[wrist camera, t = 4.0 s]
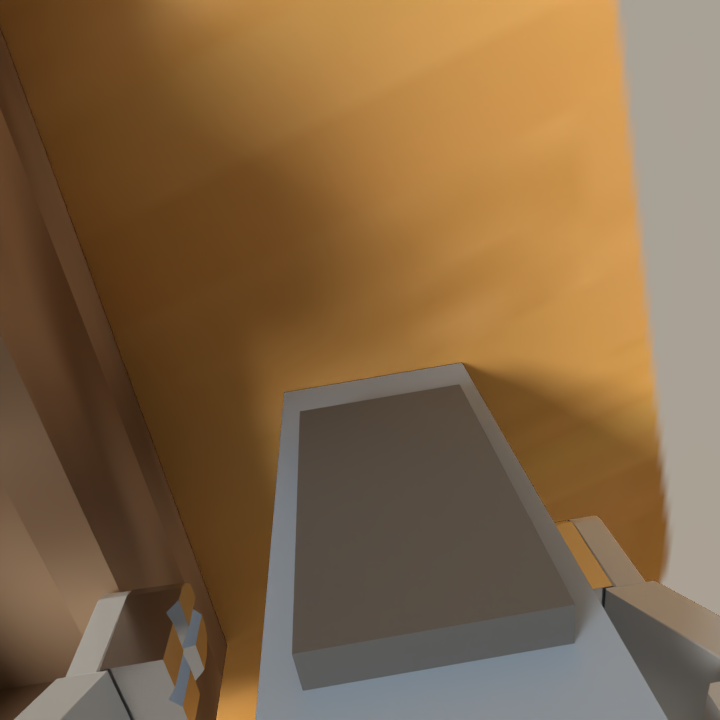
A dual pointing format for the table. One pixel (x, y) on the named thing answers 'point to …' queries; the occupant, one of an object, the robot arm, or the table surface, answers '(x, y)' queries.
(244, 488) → the table surface
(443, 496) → the blue grey rectangular block
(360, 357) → the table surface
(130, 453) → the brown wooden open box
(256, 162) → the table surface
